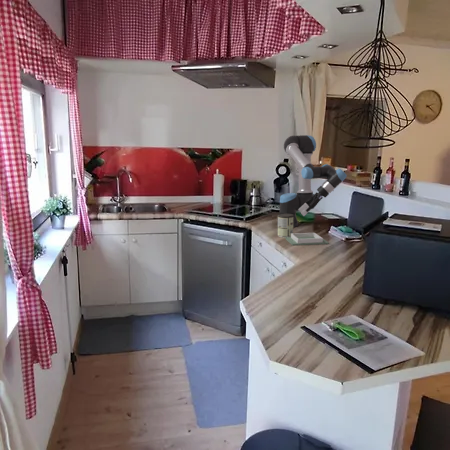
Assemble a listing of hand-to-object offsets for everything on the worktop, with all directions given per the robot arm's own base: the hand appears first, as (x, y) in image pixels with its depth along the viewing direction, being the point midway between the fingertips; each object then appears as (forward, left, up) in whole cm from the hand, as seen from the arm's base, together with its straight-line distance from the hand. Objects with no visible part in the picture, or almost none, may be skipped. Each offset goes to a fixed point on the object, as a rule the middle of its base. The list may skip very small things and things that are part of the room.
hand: (301, 212), depth 261 cm
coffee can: (-2, -10, -16) cm, 18 cm away
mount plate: (+14, -1, -15) cm, 21 cm away
